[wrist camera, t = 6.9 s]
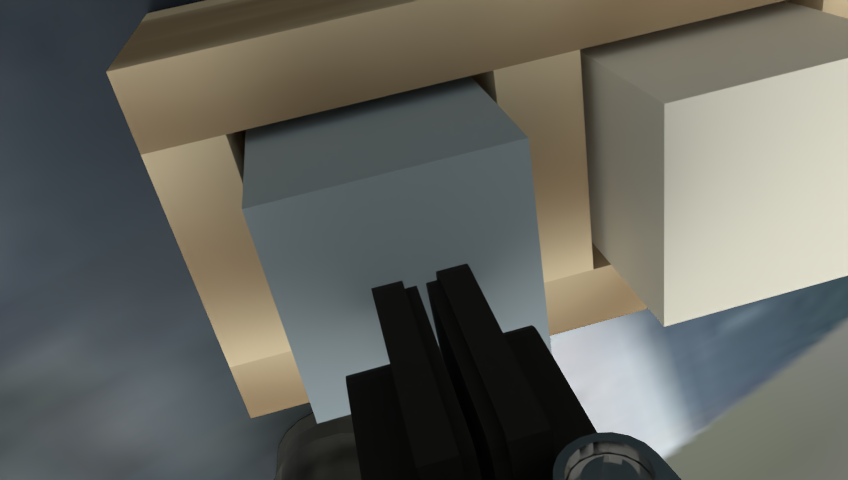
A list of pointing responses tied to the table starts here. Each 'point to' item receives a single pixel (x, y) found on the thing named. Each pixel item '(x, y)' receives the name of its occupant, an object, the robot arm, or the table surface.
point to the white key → (720, 157)
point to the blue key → (389, 221)
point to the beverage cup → (319, 451)
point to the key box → (356, 82)
